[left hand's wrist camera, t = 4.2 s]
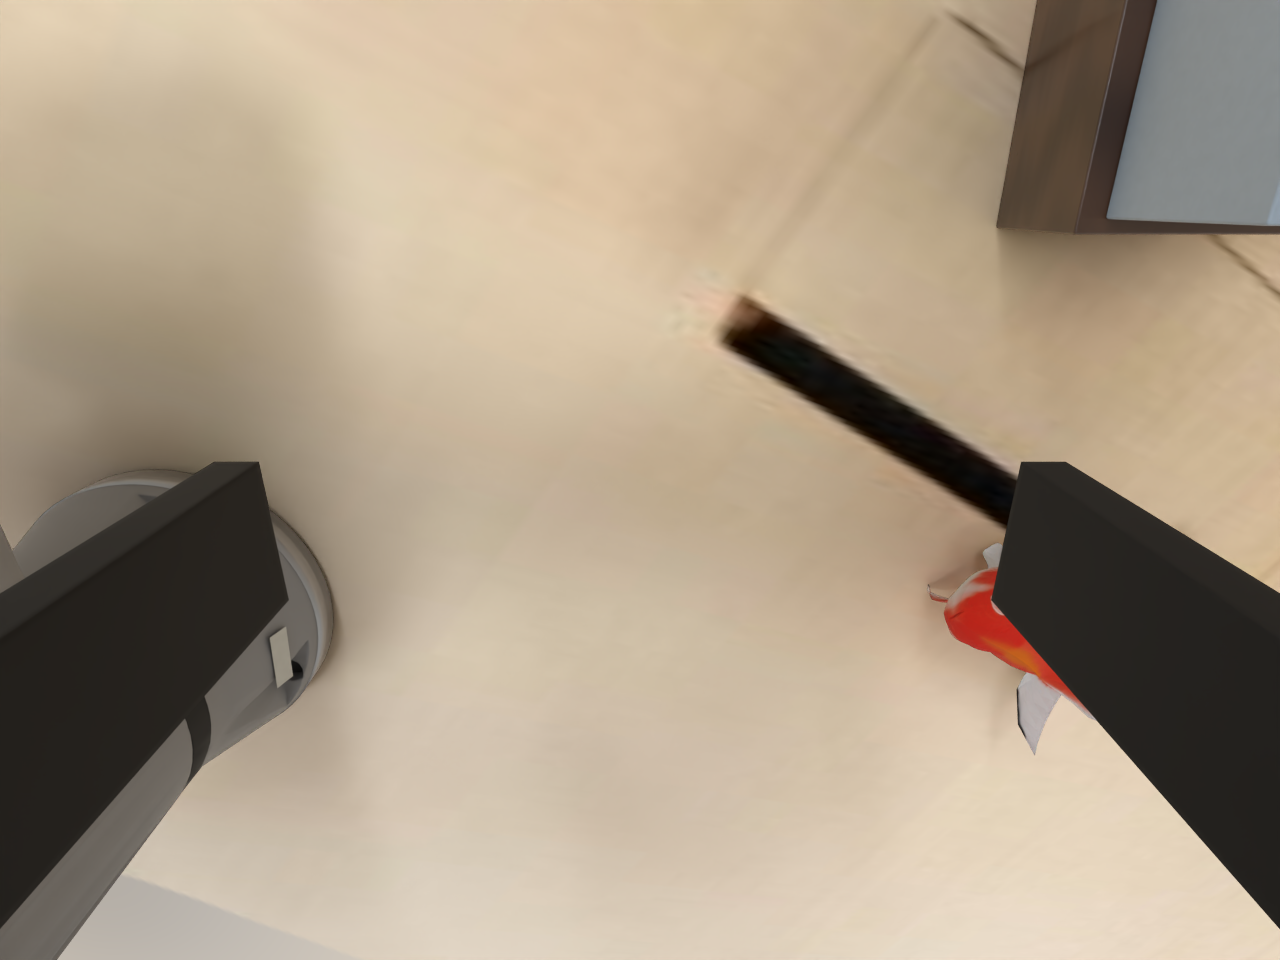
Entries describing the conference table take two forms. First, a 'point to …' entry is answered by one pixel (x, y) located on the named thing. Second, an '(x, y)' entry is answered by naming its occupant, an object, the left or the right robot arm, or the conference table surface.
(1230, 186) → the cap block
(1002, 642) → the fish
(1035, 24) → the walnut base
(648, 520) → the conference table surface
